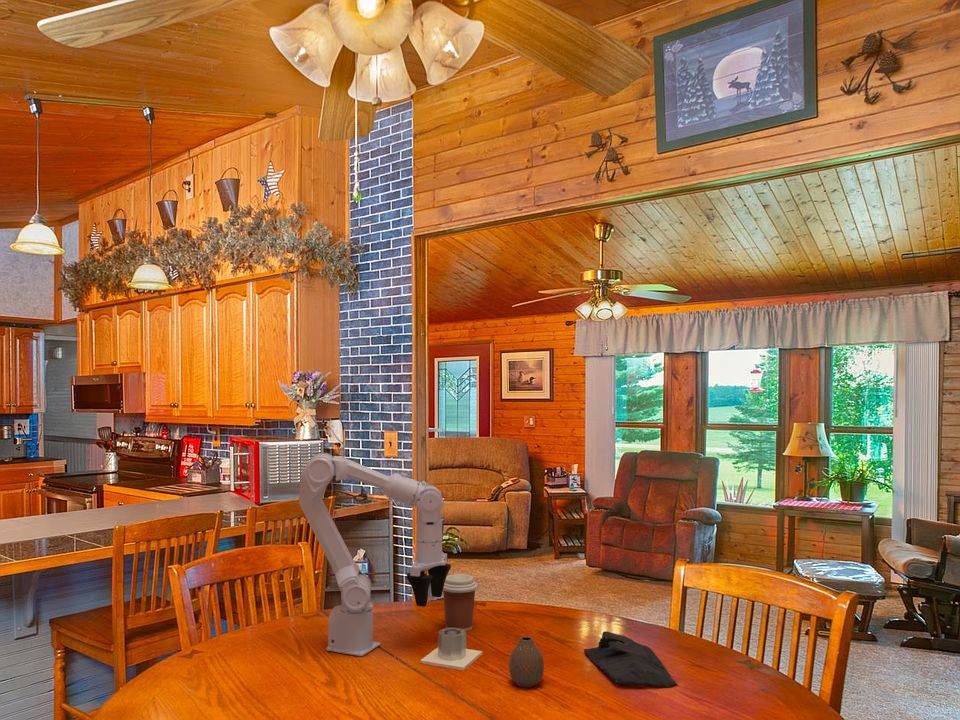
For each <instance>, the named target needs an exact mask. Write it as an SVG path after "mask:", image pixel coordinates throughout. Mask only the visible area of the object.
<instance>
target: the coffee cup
mask: <svg viewBox="0 0 960 720" xmlns="http://www.w3.org/2000/svg"><path fill="white" fill-rule="evenodd" d="M474 579H475V578H474V576H472V575H470V574H466V573H452V574H449V575H448V574H447V577H446V580H445V583H444V588H443V592H442V595H443V607H444V621H445V622H444V623H445V628H460V629H463V630H464V631H465V632H469V631H471V630H472V629H473V621H474V607H475V596H476V591H477V590H478V589H479V588H478V587H479V584H478V582H476V581H475V580H474Z"/></svg>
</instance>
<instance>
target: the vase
mask: <svg viewBox="0 0 960 720" xmlns="http://www.w3.org/2000/svg"><path fill="white" fill-rule="evenodd" d="M509 655H510V656H509V660H508V670H509V674H510V677H511V679H512V681H513V682H514V683H515V684H516V685H517V687H518V686H519V687H521V686H522V688H533V687H532V686H534V687H535V685H536V686H537V685H538V684H539V683H540V682H541V680H542V678H543V675H544V672H545V661H544V656H543V653H542V652H541V650H540V649H539V647H538V645H536V643H535V641H534V639H533V637H532V636H525V635H524V636H521V637H520V639H519V641H518V643H517V644H516V645H515V646H514V648H513V649H512V650H511V653H510V654H509Z"/></svg>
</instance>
